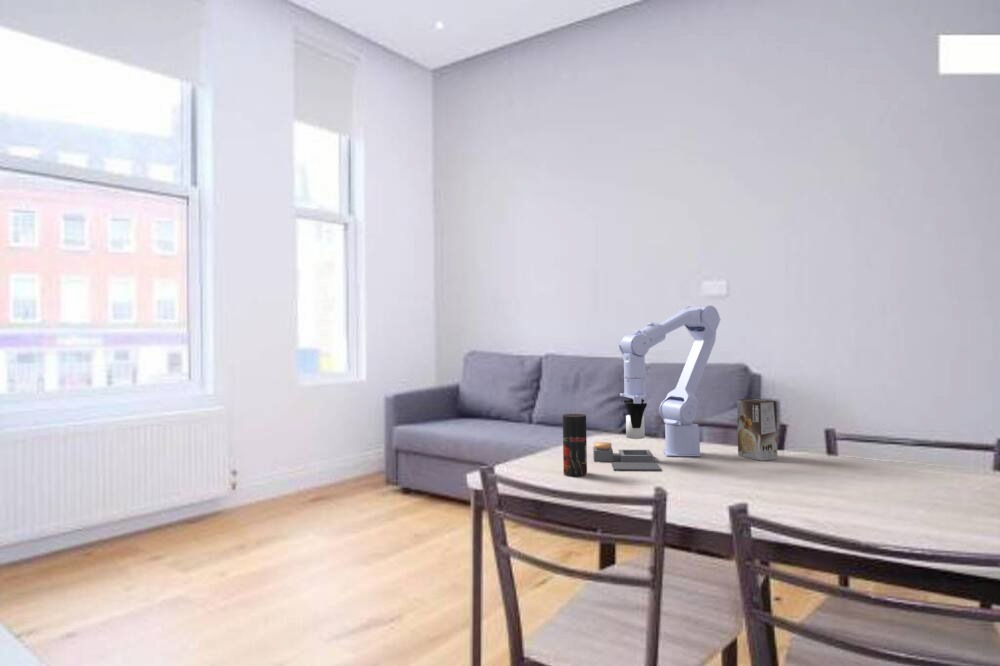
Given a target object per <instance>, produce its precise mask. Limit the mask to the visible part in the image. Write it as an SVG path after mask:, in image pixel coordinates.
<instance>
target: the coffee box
mask: <svg viewBox="0 0 1000 666" xmlns="http://www.w3.org/2000/svg"><path fill="white" fill-rule="evenodd" d="M736 410H737V411H736V414H737V416H736V417H737V420H736V421H737V455H738V456H739V457H743V458H747V459H752V460H757V461H761V462H764V461H765V462H766V461H771V460H772V461H773V460H777V459H778V458H779V457H778V421H777V420H778V417H777V415H778V414H777V412H778V411H777V400H769V399H761V398H751V397H750V398H742V399H736Z"/></svg>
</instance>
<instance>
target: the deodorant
mask: <svg viewBox="0 0 1000 666" xmlns="http://www.w3.org/2000/svg"><path fill="white" fill-rule="evenodd" d="M587 443H588V442H587V415H586V414H584V413H583V414H582V413H566V414H562V451H563V452H562V453H563V454H562V456H563V457H562V459H563V461H562V462H563V465H562V466H563V476H566V477H571V478H578V477H579V478H582V477H586V476H587V475H588V460H587V459H588V458H587V455H588V453H587V451H588V449H587Z"/></svg>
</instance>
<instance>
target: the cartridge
mask: <svg viewBox="0 0 1000 666" xmlns="http://www.w3.org/2000/svg"><path fill="white" fill-rule="evenodd" d="M625 427H626V428H625V434H626V435H625V436H626V438H627V439H631V440H640V439H641V440H642V439H645V436H646V435H645V415H643V417H642V423H641V427H640V428H632V424H631V418H630V415H628V414H627V415H625Z"/></svg>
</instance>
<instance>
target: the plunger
mask: <svg viewBox="0 0 1000 666" xmlns="http://www.w3.org/2000/svg"><path fill="white" fill-rule="evenodd" d="M593 444H594V445H593V447H594V448H598V449H599V450H607V449H609V448H612V446H613V445H612V443H611V442H608V441H597V442H594V443H593ZM612 449H613V448H612Z"/></svg>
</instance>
